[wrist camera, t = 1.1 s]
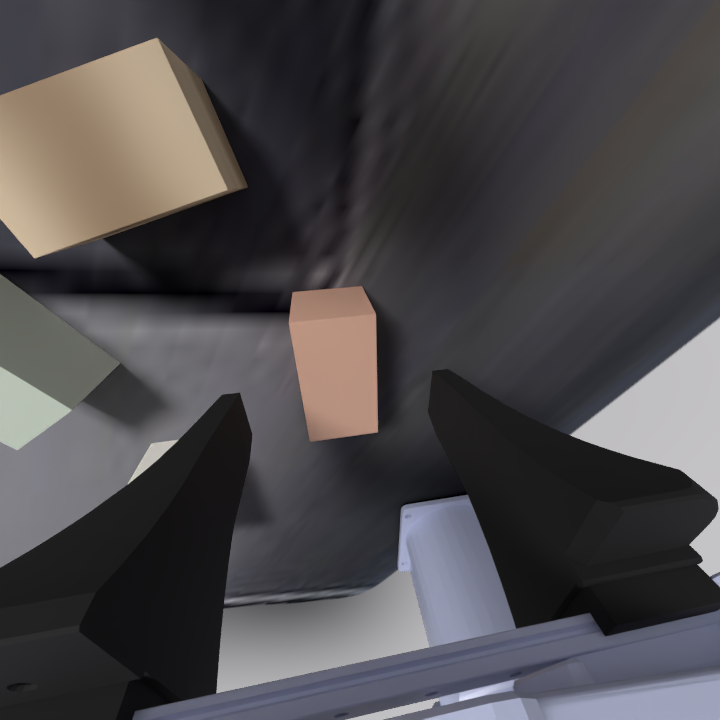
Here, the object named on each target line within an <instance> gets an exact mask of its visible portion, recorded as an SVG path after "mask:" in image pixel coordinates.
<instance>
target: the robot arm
mask: <svg viewBox="0 0 720 720" xmlns="http://www.w3.org/2000/svg"><path fill="white" fill-rule="evenodd" d="M428 413H429V416H430V419H431V421H432V424H433V427H434V430H435V432H436V435H437V437H438V439H439V441H440V442H441V444H442V446H443V448H444V450H445V452H446V454H447V456H448V458H449V459H450V461H451V463H452V465H453V467H454V469H455V471H456V473H457V474H458V476H459V478H460V480H461V482H462V484H463V486H464V488H465V490H466V492H467V494H468V495H463V496H456V497H450V498H444V499H438V500H431V501H425V502H419V503H413V504H407V505H404V506H403V507H402V508H401V516H400V533H399V550H398V570H399V571H400V572H405V571H410V573H411V577H412V581H413V584H414V588H415V592H416V596H417V600H418V604H419V608H420V611H421V615H422V619H423V623H424V627H425V631H426V635H427V638H428V642H429V646H430V647H429V648H425V649H420V650H416V651H411V652H406V653H402V654H397V655H392V656H388V657H383V658H379V659H374V660H369V661H365V662H361V663H355V664H351V665H346V666H342V667H337V668H332V669H328V670H323V671H318V672H314V673H309V674H305V675H300V676H296V677H291V678H286V679H282V680H277V681H272V682H268V683H263V684H258V685H254V686H249V687H244V688H240V689H235V690H231V691H226V692H221V693H217V694H216V690H217V675H218V662H219V649H220V637H221V627H222V616H223V606H224V596H225V588H226V580H227V571H228V563H229V556H230V549H231V541H232V534H233V529H234V524H235V519H236V515H237V511H238V507H239V502H240V498H241V494H242V490H243V486H244V482H245V478H246V473H247V469H248V465H249V460H250V452H251V442H252V432H251V429H250V425H249V422H248V419H247V415H246V412H245V409H244V405H243V402H242V399H241V395H240V393H234V394H225V395H222V396H221V397H220V398H219V399H218V400H217V401H216V402H215V403H214V404H213V405H212V406H211V407H210V408H209V409H208V410H207V411H206V412H205V413H204V415H203V416H202V417H201V418H200V419H199V420H198V421H197V422H196V423H195V424H194V425H193V426H192V427H191V428H190V429H189V430H188V431H187V432H186V433H185V434H184V435H183V436H182V437H181V438H180V439H179V440H178V441H177V442H176V443H175V444H174V445H173V446H172V447H171V448H170V449H169V450H167V451H166V452H165V453H164V454H163V455H162V456H161V457H160V458H159V459H158V460H157V461H156V462H154V463H153V464H152V465H151V466H150V467H149V468H147V469H146V470H145V471H144V472H143V473H141V474H140V475H139V476H138V477H136V478H135V479H134V480H133V481H131V482H130V483H129V484H128V485H126V486H125V487H124V488H122V489H121V490H120V491H118V492H117V493H116V494H114V495H113V496H111V497H110V498H109V499H107V500H106V501H105V502H103V503H102V504H100V505H99V506H98V507H96V508H95V509H94V510H92V511H91V512H89V513H88V514H86V515H85V516H84V517H82V518H81V519H79V520H77V521H76V522H74V523H73V524H71V525H70V526H68V527H67V528H65V529H64V530H62V531H61V532H59V533H58V534H56V535H54V536H53V537H51V538H50V539H48V540H46V541H45V542H43V543H42V544H40V545H38V546H37V547H35V548H34V549H32V550H30V551H29V552H27V553H25V554H24V555H22V556H20V557H18V558H17V559H15V560H13V561H11V562H10V563H8V564H6V565H4V566H3V567H1V568H0V720H345V719H349V718H354V717H358V716H362V715H366V714H371V713H375V712H379V711H383V710H388V709H392V708H396V707H400V706H405V705H409V704H413V703H417V702H422V701H426V700H430V699H434V698H439V701H438V702H435V703H434V705H433V707H432V708H431V709H427V710H422V711H418V712H414V713H410V714H405V715H401V716H397V717H393V718H389V719H384V720H720V572H719V573H717V574H714V575H712V576H711V577H709V576H708V575H707V574H706V573H705V572H704V571H703V570H702V569H701V568H700V567H699V566H698V565H697V564H699V563H701V562H702V561H703V560H702V557H701V556H700V555H699V554H698V553H697V552H696V551H695V550H694V549H693V548H692V547H691V546H689V544H690V543H691V542H692V541H693V540H694V539H695V538H696V537H697V536H698V535H699V534H700V533H701V532H702V531H703V530H704V529H705V528H706V527H707V526H708V525H709V524H710V523H711V521H712V520H713V519H714V518H715V516H716V514H717V512H718V502H717V499H715V497H713V496H712V495H711V494H710V493H708V492H707V491H705V489H703V488H702V487H701V486H700V485H698V484H697V483H696V482H695V481H693V480H692V479H691V478H690V477H688V476H687V475H686V474H685V473H683V472H682V471H680V470H678V469H674V468H671V467H666V466H663V465H659V464H656V463H652V462H649V461H645V460H641V459H637V458H634V457H630V456H627V455H624V454H620V453H617V452H614V451H611V450H608V449H605V448H602V447H599V446H596V445H594V444H591V443H588V442H585V441H582V440H580V439H577V438H575V437H572V436H570V435H567V434H565V433H562V432H560V431H557V430H555V429H553V428H550V427H548V426H546V425H544V424H542V423H540V422H538V421H535V420H533V419H531V418H529V417H527V416H525V415H523V414H521V413H519V412H517V411H516V410H514V409H512V408H510V407H508V406H507V405H505V404H503V403H501V402H500V401H498V400H496V399H495V398H493V397H491V396H490V395H488V394H486V393H485V392H483V391H482V390H480V389H478V388H477V387H475V386H474V385H472V384H471V383H469V382H468V381H466V380H464V379H463V378H461V377H460V376H458V375H457V374H455V373H453V372H452V371H450V370H448V369H445V370H437V371H432V381H431V390H430V399H429V408H428Z"/></svg>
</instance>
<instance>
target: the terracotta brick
mask: <svg viewBox="0 0 720 720" xmlns="http://www.w3.org/2000/svg"><path fill="white" fill-rule="evenodd" d="M289 326H290V332H291V338H292V343H293V349H294V355H295V360H296V366H297V371H298V377H299V383H300V388H301V394H302V400H303V405H304V411H305V416H306V422H307V428H308V433H309V439H310V442H312V441H319V440H326V439H334V438H341V437H348V436H355V435H362V434H370V433H377V432H378V404H377V344H376V313H375V311H374V309H373V307H372V305H371V303H370V301H369V299H368V297H367V295H366V293H365V291H364V289H363V287H362V286H358V287H346V288H335V289H324V290H312V291H301V292H293V294H292V302H291V310H290V317H289Z"/></svg>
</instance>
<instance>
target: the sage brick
mask: <svg viewBox="0 0 720 720" xmlns="http://www.w3.org/2000/svg"><path fill="white" fill-rule="evenodd" d="M119 364H120V362H118V361H117V360H116V359H114V358H113V357H112V356H110V355H109V354H108V353H106V352H105V351H103V350H102V349H101V348H99V347H98V346H97V345H95V344H94V343H93V342H91V341H90V340H89V339H87V338H86V337H85V336H83V335H82V334H80V333H79V332H78V331H76V330H75V329H74V328H72V327H71V326H70V325H68V324H67V323H66V322H64V321H63V320H62V319H60V318H59V317H58V316H56V315H55V314H53V313H52V312H51V311H49V310H48V309H47V308H45V307H44V306H43V305H41V304H40V303H39V302H37V301H36V300H35V299H33V298H32V297H30V296H29V295H28V294H26V293H25V292H24V291H22V290H21V289H20V288H18V287H17V286H16V285H14V284H13V283H12V282H10V281H9V280H8V279H6V278H5V277H3V276H2V275H1V274H0V442H2V443H4V444H6V445H8V446H10V447H12V448H14V449H16V450H18V449H20V448H21V447H23V446H24V445H25V444H27V443H28V442H29V441H31V440H32V439H33V438H35V437H36V436H38V435H39V434H40V433H42V432H43V431H44V430H46V429H47V428H49V427H50V426H51V425H53V424H54V423H55V422H57V421H58V420H60V419H61V418H62V417H64V416H65V415H66V414H68V413H69V412H71V411H72V410H73V409H74V408H75V407H76V406H77V405H78V404H79V403H80V402H81V401H82V400H83V399H84V398H85V397H86V396H87V395H88V394H89V393H90V392H91V391H92V390H93V389H94V388H95V387H97V386H98V385H99V384H100V383H101V382H102V381H103V380H104V379H105V378H106V377H107V376H108V375H109V374H110V373H111V372H112V371H113V370H114V369H115V368H116V367H117V366H118V365H119Z"/></svg>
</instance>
